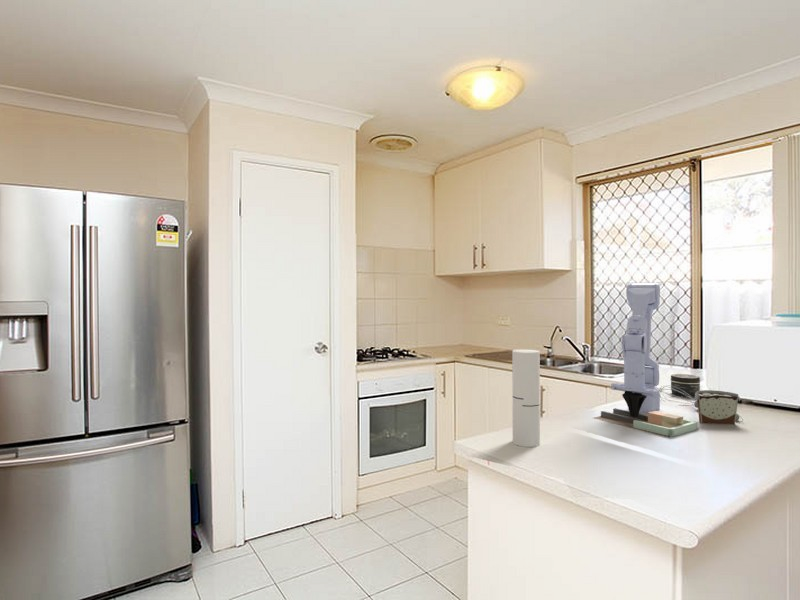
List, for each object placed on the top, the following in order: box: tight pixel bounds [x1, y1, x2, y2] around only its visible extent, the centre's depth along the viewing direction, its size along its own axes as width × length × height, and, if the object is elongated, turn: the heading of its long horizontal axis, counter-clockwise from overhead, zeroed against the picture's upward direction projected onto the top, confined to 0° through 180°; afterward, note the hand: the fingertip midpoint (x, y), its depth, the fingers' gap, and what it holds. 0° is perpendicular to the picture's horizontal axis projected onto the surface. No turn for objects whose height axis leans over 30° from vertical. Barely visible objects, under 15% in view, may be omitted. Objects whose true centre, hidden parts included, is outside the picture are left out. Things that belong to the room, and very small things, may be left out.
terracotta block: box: [647, 410, 670, 426], centre depth 137 cm, size 4×4×4 cm
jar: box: [670, 373, 701, 398], centre depth 184 cm, size 10×10×8 cm
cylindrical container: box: [511, 348, 541, 448], centre depth 126 cm, size 7×7×25 cm
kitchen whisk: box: [659, 385, 744, 423], centre depth 161 cm, size 6×34×6 cm, turn 13°
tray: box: [633, 418, 699, 438], centre depth 135 cm, size 14×11×2 cm
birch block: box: [662, 413, 684, 428], centre depth 134 cm, size 4×4×4 cm
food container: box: [693, 389, 741, 425], centre depth 143 cm, size 12×6×10 cm, turn 84°
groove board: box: [593, 408, 700, 439], centre depth 141 cm, size 16×24×2 cm, turn 31°
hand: (634, 416), depth 143 cm, fingers closed
